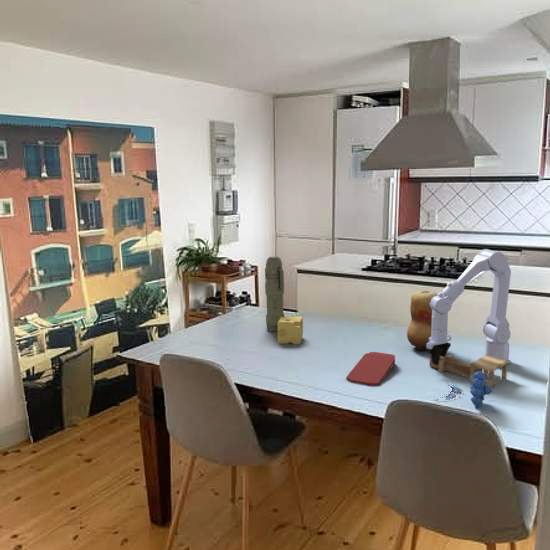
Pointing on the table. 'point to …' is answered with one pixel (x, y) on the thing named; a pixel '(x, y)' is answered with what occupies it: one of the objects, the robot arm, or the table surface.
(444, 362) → the brown wooden stepped bar
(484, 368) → the small wooden table
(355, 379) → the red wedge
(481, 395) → the grapes
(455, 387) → the decorative blades
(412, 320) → the butternut squash
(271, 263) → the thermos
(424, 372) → the table surface
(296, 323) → the cheese
